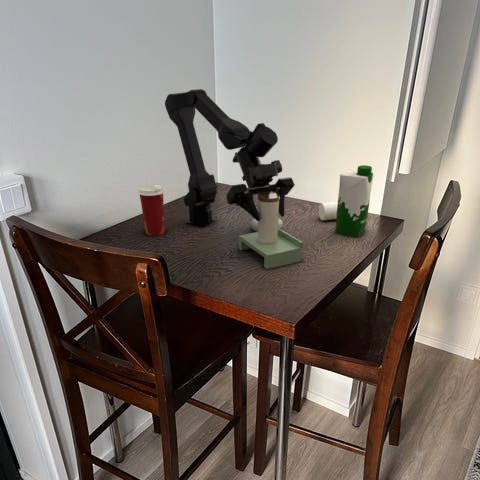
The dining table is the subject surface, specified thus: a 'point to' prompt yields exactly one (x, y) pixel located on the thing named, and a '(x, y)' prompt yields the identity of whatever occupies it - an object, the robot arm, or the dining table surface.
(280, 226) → the donut
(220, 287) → the dining table surface
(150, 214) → the paper cup
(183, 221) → the dining table surface
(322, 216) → the roll
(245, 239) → the shelf
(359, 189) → the milk carton
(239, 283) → the dining table surface
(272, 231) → the canister
